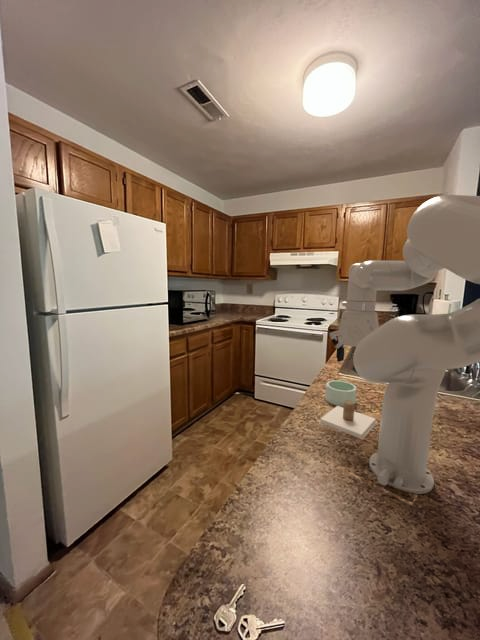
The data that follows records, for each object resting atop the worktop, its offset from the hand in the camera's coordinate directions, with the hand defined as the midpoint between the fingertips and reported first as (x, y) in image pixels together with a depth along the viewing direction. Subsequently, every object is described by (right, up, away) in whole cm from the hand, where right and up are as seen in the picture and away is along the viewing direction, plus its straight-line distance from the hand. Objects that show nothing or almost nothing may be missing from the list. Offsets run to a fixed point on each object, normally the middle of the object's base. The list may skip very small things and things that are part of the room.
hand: (356, 364), depth 79 cm
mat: (-1, -18, +2) cm, 19 cm away
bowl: (+2, -16, +17) cm, 24 cm away
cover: (-1, -18, +2) cm, 18 cm away
